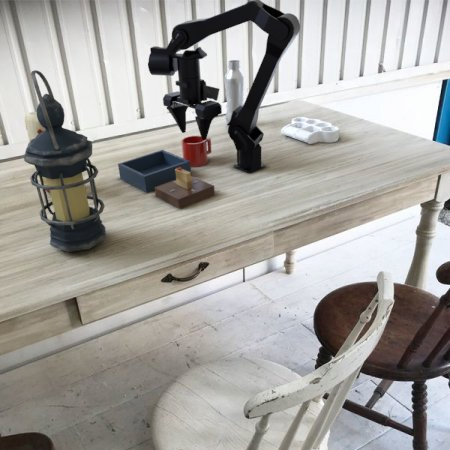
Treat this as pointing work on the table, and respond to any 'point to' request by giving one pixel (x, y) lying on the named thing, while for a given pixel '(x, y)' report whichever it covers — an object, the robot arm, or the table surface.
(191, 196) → the panel
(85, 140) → the lantern
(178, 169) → the tap knob
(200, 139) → the mug
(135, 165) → the dark blue tray
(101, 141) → the table surface
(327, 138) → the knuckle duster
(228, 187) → the table surface
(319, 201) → the table surface
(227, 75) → the plastic bottle
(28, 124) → the food model
